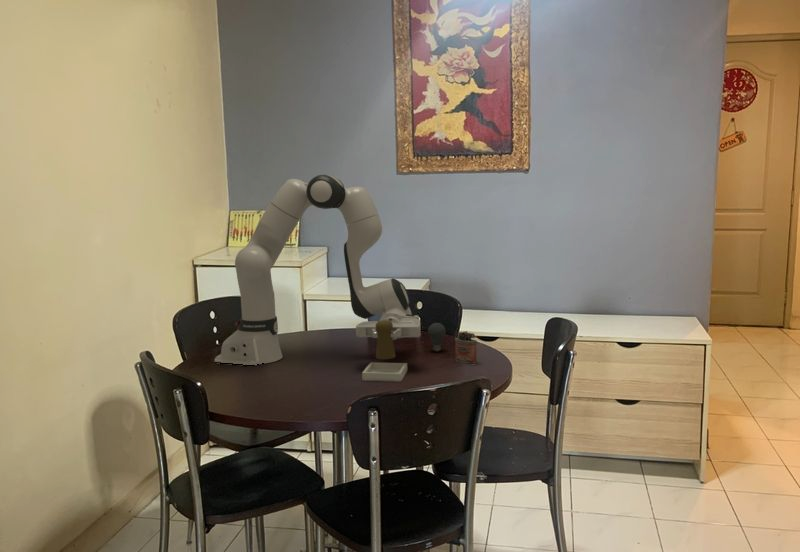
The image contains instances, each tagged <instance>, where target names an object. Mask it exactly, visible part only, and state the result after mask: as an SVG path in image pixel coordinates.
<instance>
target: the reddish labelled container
mask: <svg viewBox="0 0 800 552" xmlns="http://www.w3.org/2000/svg"><path fill="white" fill-rule="evenodd" d="M457 336H458V337H455V338H454V342H455V358H454V362H455V361H456V363H458V362H459V364H462V363H464V364H463V365H468V364H476V365H477V364H478V361H477V344H478V341H477V340H476V339H474V338H475V337H476V336H475V333H473V332H468V331H466V330H465V331H458V333H457Z"/></svg>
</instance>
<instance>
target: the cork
mask: <svg viewBox="0 0 800 552" xmlns="http://www.w3.org/2000/svg"><path fill="white" fill-rule="evenodd" d="M392 329H393V324H392V322H390V321H386V320H383V321H379V322H377V323H376V331H377V332H378V337H377V338H376V347H375V348H376V350H375V358H376V359H378V360H391V359H395V358H396V352H395V346H394V340H393V339H392V338H391V334H390V333H391V331H392Z"/></svg>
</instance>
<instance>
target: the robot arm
mask: <svg viewBox="0 0 800 552" xmlns="http://www.w3.org/2000/svg"><path fill="white" fill-rule="evenodd" d="M311 206H314V207H316V208H318V209H322V210H330V209H337V210H339V212H340V213H341V214H342V216H343V219H344V223H345V224H346V228H347V241H346V242H345V243H344V244H343V257H344V263H345V264H344V265H345V268H346V269H345V270H346V274H347V275H346V276H347V281H348V287H349V293H350V296H349V297H350V304H351V310H352V311H353V313H354V315H355V316H357V317H359V318H361V319H364V320H367V319H370V318H371V317H374V316H376V315H378V314H382V312H385V311H386V313H385V314H384V315H383V316H382V315H381V317H380V318H379V321H383V320H386V321H390V322H392V324H393V329H392V331H391V333H390V334H391V338H392V339H393V341H394V340H398V339H402V338H420V337H421V336H422V330H421V329H422V328H421V321H420V317H419V315H416V314H412V311H411V308H410V297H409V293H408V291H407V289H406V286H405V285H404V283H402V282H401V281H399V280H398V279H396V278H390V279H386V280H383V281H380V282H378V283H375V284H372V285H369V286H364V284H363V278H362V272H361V267H360V261H361V258H362V257H363V255H364V254H365V253H366V252H367V251H368V250H369V249H371V248H372V247H373V246H375V244H376V243H377V242H378V241H379V239H380V238H381V235H382V234H383V225H382V221H381V218H380V215H379V213H378V210H377V207H376V204H375V203H374V201H373V198H372V197H371V195H370V193H369V192H368V190H367V189H366V188H365V187H364V186H363V187H362V186H352V187H345V185H344V184H343V182H342V180H340V179H339V178H337V177H336V176H333V175H331V174H319V175H316V176H314V177H313V178H311V179H310V180H309V182H304V181H303V180H301V179H299V178H298V179H297V178H289V179H287V180H286V181H285V182H284V183H283V185H282V186H281V187H280V188H279V189H278V190H277V192H276V194H275V195H274V196H273V198H272V199H271V201H270V203H269V204H268V206H267V208H266V209H265V211H264V213H263V214H262V216H261V217H260V220H259V221H258V223H257V225H256V227H255V229H254V231H253V233H252V235H251V237H250V239H249V241H248V242H247V244H246V246H245V247H243V248H242V249H240V250H239V251H238V253H237V254H236V256H235V260H234V266H235V273H236V279H237V282H238V283H237V284H238V289H239V294H240V307H241V318H240V319H238V320H237V321H236V322H235V326H237V330H236V331H234V332H232V334H231V335H230V336H228V337H227V338H226V339H225V340H224V341H223V342H222V345H221V349H220V351H221V352H220V354H218V355H216V356H215V358H214V363H215V362H221V363H233V364H243V365H255V366H258V365H257V364H259V365H263V364H262V363H264V364H270V363H274V362H277V361H279V360H281V359H283V357H284V356H283V353H282V350H281V347H280V342H279V338H278V337H279V336H278V331H279V323H278V317H277V315H276V314H277V313H276V299H275V291H274V286H273V279H272V273H271V271H272V269H273V267H274V265H275V263H276V261H277V260H278V258H279V257H280V255H281V253H282V251H283V249H284V248H285V246H286V243H287V242H288V241H289V238H290V237H291V235H292V233H293V231H294V230H295V228H296V227H297V225H298V224H299V222H300V220H301V219H302V217H303V215H304V214H305V212H306V211H307V209H309V207H311ZM379 321H378V320H377V321H376V320H375V321H373V320H372V321H371V320H369V321H362V322H360V323H358V324H356V326H355V335H356V337H358V338H373V339H377V337H378V332H377V331H376V323H377V322H379ZM243 365H242V366H243Z"/></svg>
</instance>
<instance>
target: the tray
mask: <svg viewBox="0 0 800 552" xmlns="http://www.w3.org/2000/svg"><path fill="white" fill-rule="evenodd" d="M407 373H408V363H407V362H379V361H378V362H374V361H371V362H370V363H369V364H367V366H366V367H365V368H364V370H363V371H362V372H361V378H362V381H363V382H387V383H388V382H389V383H390V382H391V383H393V382H395V383H402V380H403V379H404V378H405V375H406V374H407Z"/></svg>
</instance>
